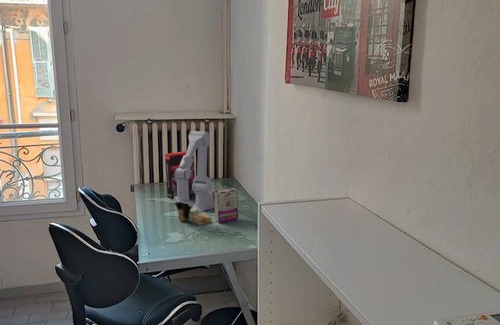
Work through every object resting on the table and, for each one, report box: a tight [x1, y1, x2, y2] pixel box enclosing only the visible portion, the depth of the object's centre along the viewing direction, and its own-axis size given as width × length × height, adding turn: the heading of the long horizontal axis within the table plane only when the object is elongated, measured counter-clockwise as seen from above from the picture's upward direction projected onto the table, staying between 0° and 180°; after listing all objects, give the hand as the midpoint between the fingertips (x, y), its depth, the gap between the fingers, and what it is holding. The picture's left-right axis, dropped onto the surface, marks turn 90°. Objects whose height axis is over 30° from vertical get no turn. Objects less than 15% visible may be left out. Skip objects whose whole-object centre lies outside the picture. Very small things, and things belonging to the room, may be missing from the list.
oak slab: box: [191, 213, 212, 226], centre depth 222 cm, size 7×7×3 cm
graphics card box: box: [164, 150, 196, 200], centre depth 265 cm, size 17×7×27 cm, turn 129°
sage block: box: [189, 207, 199, 219], centre depth 229 cm, size 4×4×4 cm
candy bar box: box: [214, 187, 239, 224], centre depth 222 cm, size 11×5×16 cm, turn 118°
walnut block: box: [177, 208, 191, 222], centre depth 223 cm, size 4×4×6 cm
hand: (184, 216), depth 223 cm, fingers closed on walnut block, 4 cm apart
